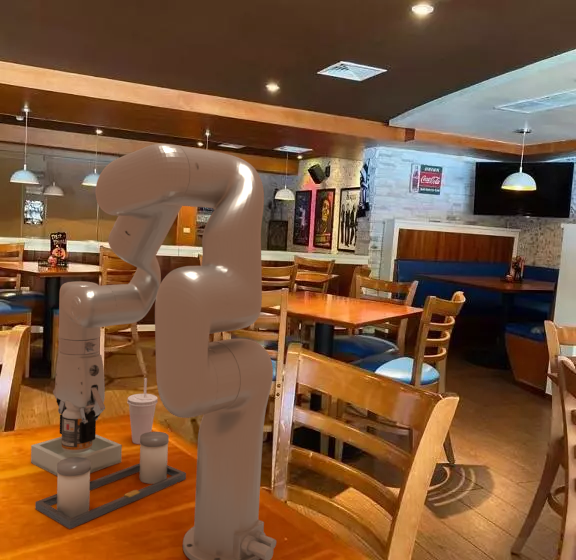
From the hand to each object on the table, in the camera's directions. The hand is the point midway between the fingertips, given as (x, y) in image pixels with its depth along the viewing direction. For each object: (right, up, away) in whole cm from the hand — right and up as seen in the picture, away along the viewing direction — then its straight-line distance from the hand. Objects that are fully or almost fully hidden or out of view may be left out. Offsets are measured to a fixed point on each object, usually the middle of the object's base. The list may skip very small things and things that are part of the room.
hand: (77, 435), depth 115 cm
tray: (0, -5, +1) cm, 5 cm away
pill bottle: (0, -3, 0) cm, 3 cm away
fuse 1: (+6, -7, -18) cm, 20 cm away
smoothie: (+9, -5, +13) cm, 17 cm away
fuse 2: (+16, -7, -4) cm, 18 cm away
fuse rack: (+11, -7, -11) cm, 17 cm away
